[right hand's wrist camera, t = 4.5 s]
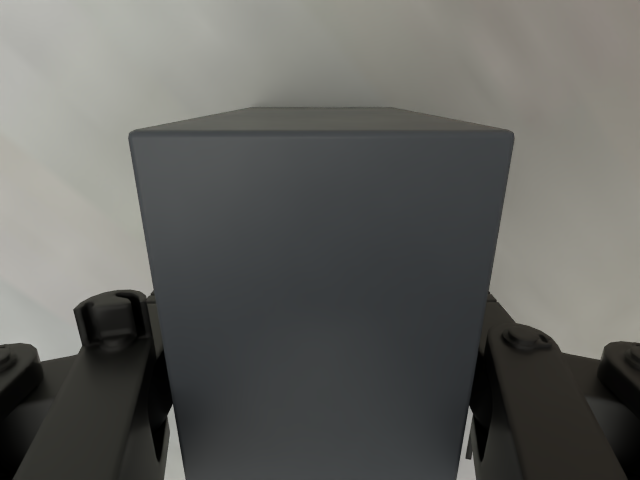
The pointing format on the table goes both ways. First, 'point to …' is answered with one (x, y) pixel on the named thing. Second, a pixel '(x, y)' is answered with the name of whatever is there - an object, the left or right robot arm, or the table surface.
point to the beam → (321, 286)
